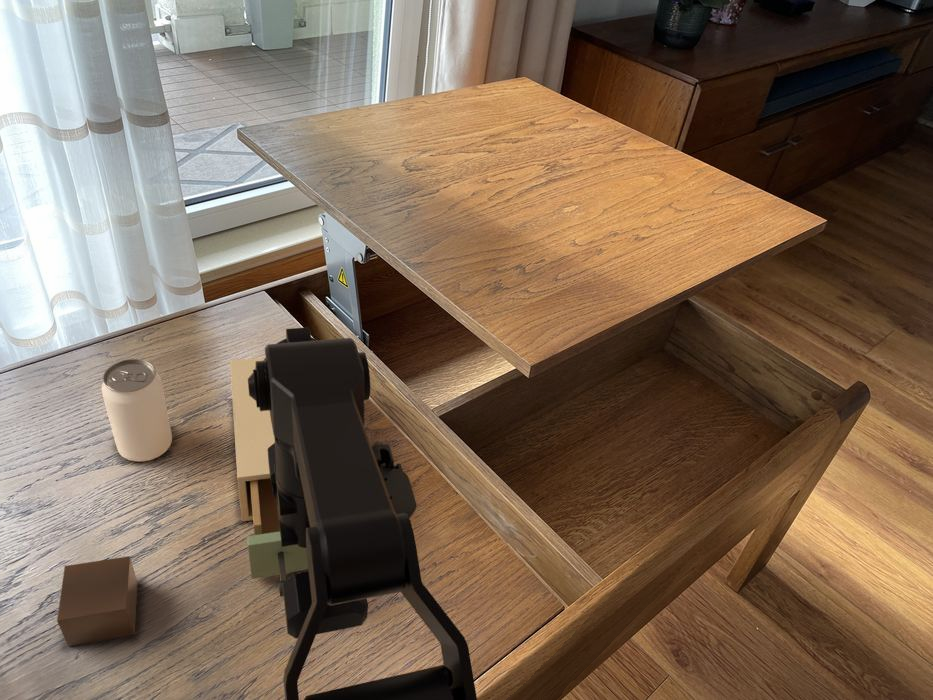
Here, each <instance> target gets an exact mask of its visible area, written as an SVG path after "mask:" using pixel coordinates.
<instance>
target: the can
mask: <svg viewBox="0 0 933 700" xmlns="http://www.w3.org/2000/svg"><path fill="white" fill-rule="evenodd" d="M101 393H102V398H103V403H104V406H105V410H106V413H107V416H108V420H109V424H110V429H111V432H112V436H113V439H114V443H115V447H116V449H117V452H118V454H119V455H120V456H121V457H123V459H125V460H128V461H131V462H135V463H136V462H138V463H143V462H149V461H153V460H156V459H157V458H159V457H160V456H162V455H163V454H165V453H166V452H167V451H168V450H169V448H170V447H171V444H172V441H173V435H172V434H173V433H172V429H171V424H170V423H171V422H170V418H169V413H168V407H167V402H166V398H165V393H164V387H163V382H162V378H161V376H160V374H159V373H158V372H157V370H156V368H155V366H154V365H153V364H152V363H151V362H150V361H147V360H144V359H139V358H129V359H123V360H120V361H117V362H115V363H113V364H112V365H110V366H109V367H108V368H107V369H106V370H105V371H104V373H103V375H102V384H101Z"/></svg>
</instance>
